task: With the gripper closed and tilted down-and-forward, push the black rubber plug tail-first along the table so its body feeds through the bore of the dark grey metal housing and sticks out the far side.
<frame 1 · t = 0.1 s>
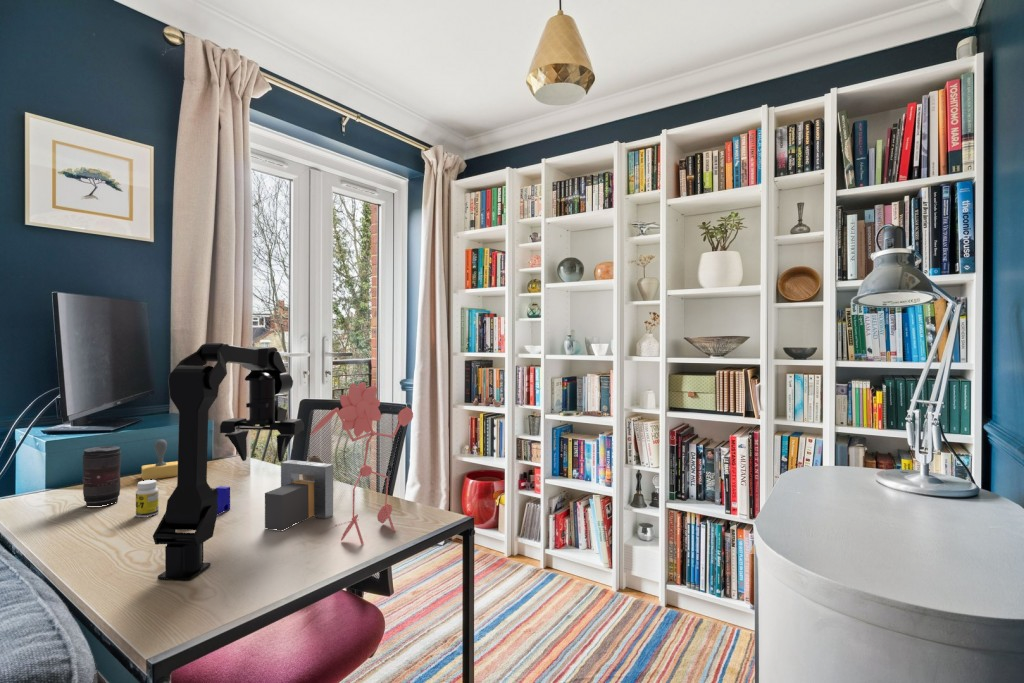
hand: (262, 460, 129), 15 cm above the table, tool pointing down, fingers open, 9 cm apart
plug: (291, 521, 128), on the table
rubber stamp: (161, 477, 168), on the table
housing: (306, 513, 134), on the table
supplement bottle: (147, 515, 132), on the table
vase: (314, 485, 159), on the table
figurine: (359, 532, 122), on the table
camera lens: (102, 504, 140), on the table
cable clip: (205, 517, 132), on the table
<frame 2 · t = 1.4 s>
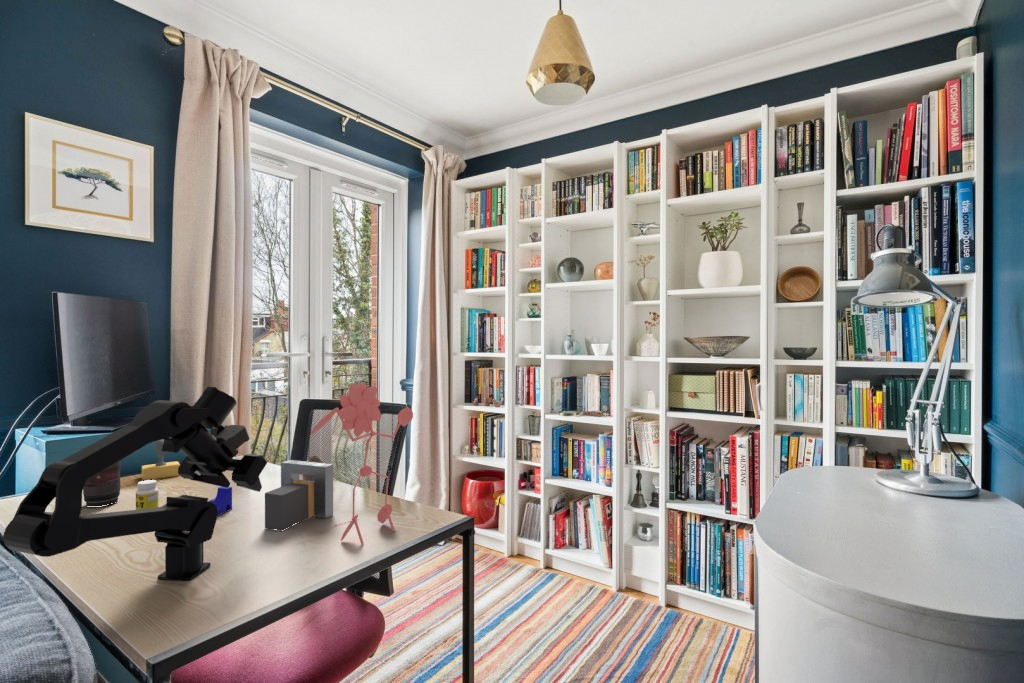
hand: (244, 487, 114), 12 cm above the table, tool tilted 45°, fingers open, 8 cm apart
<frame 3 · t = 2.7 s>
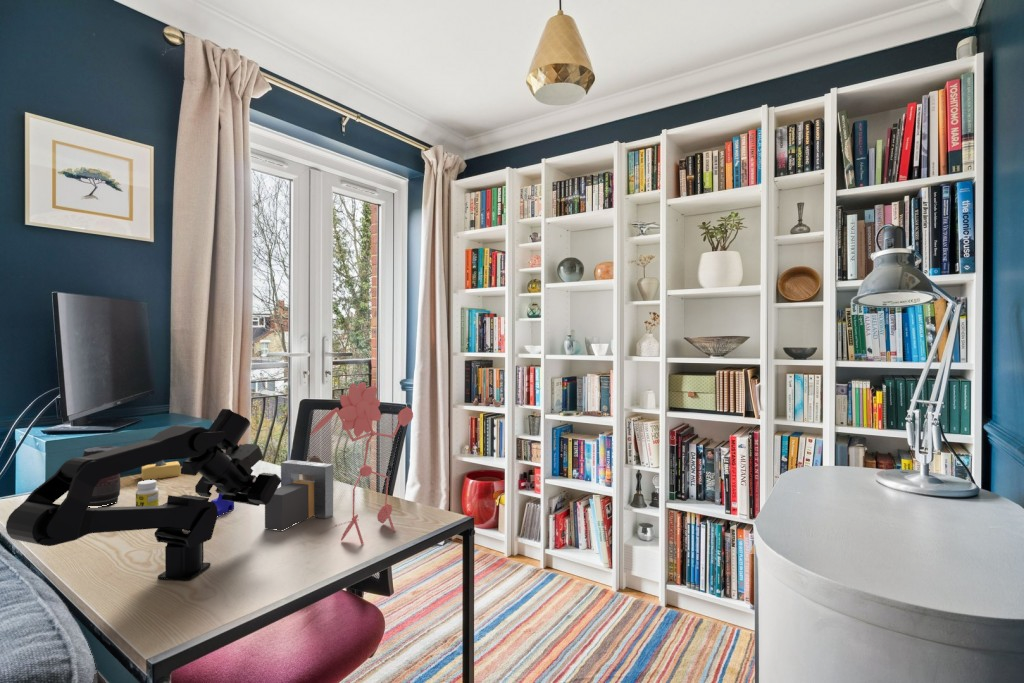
hand: (258, 503, 118), 8 cm above the table, tool tilted 45°, fingers closed
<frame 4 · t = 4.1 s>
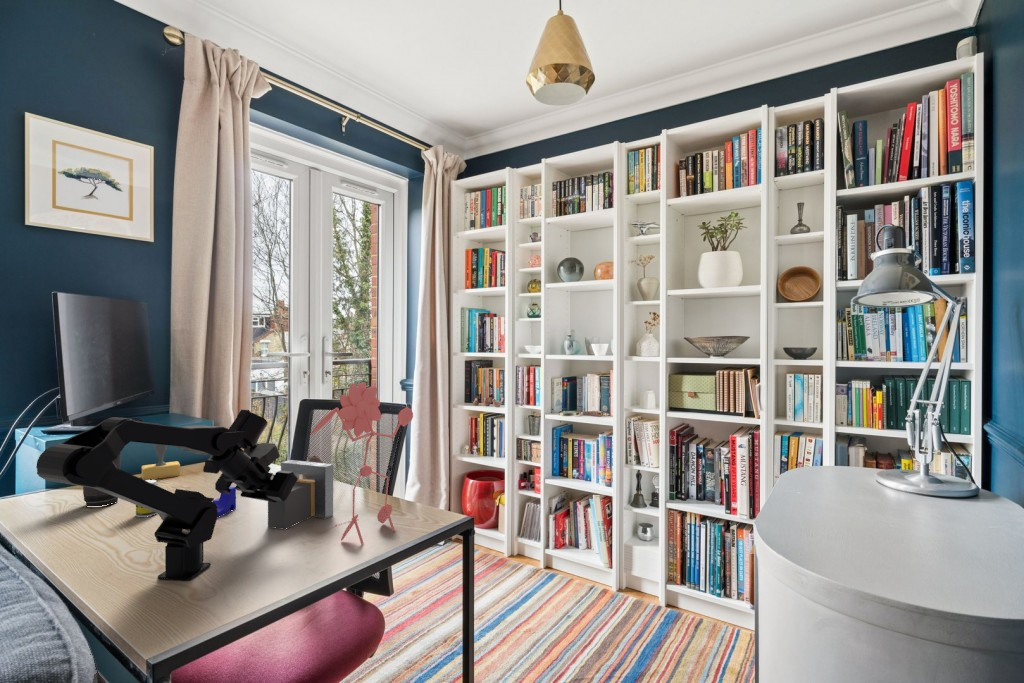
hand: (275, 500, 123), 7 cm above the table, tool tilted 45°, fingers closed, pressing on plug
plug: (294, 520, 129), on the table, touching gripper
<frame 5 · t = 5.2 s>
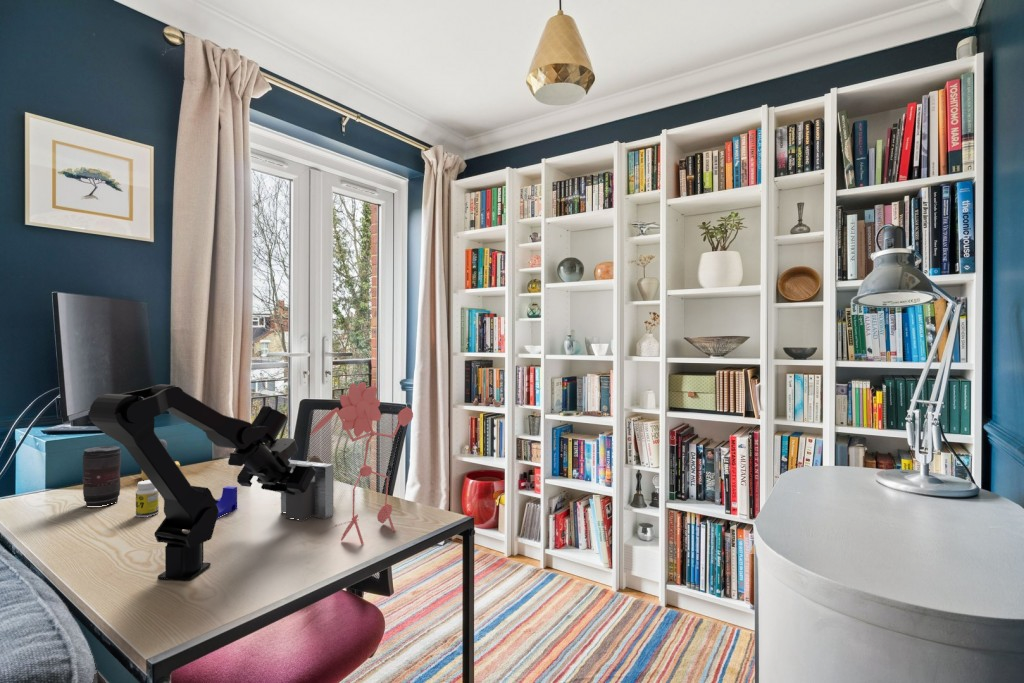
hand: (293, 493, 129), 7 cm above the table, tool tilted 45°, fingers closed, pressing on plug
plug: (310, 511, 135), on the table, touching gripper
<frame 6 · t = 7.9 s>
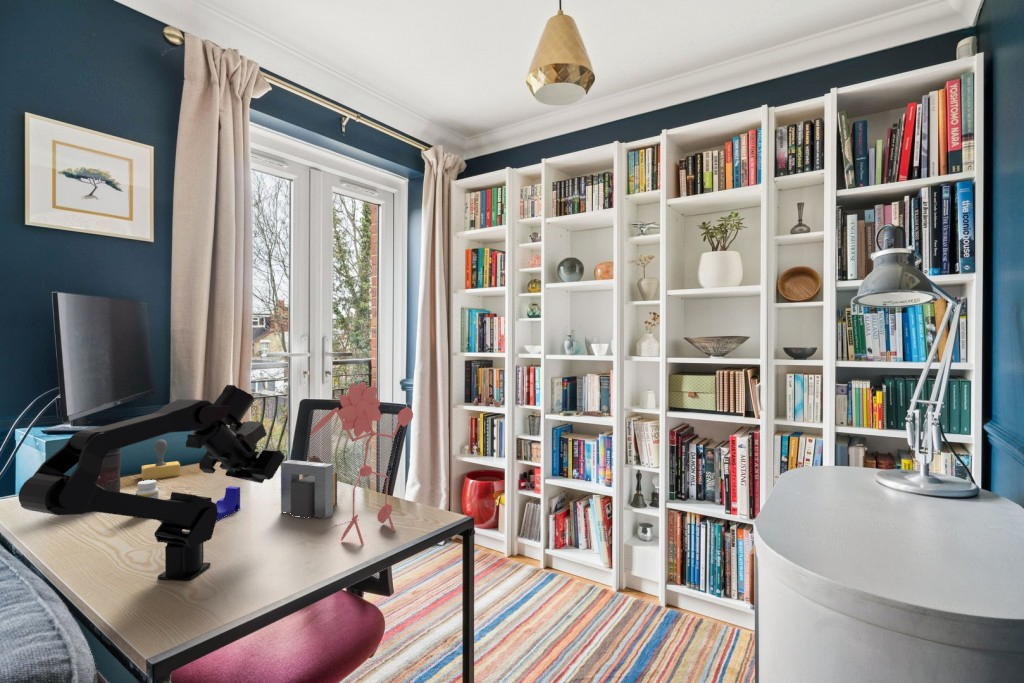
hand: (262, 481, 119), 12 cm above the table, tool tilted 45°, fingers closed
plug: (314, 510, 137), on the table
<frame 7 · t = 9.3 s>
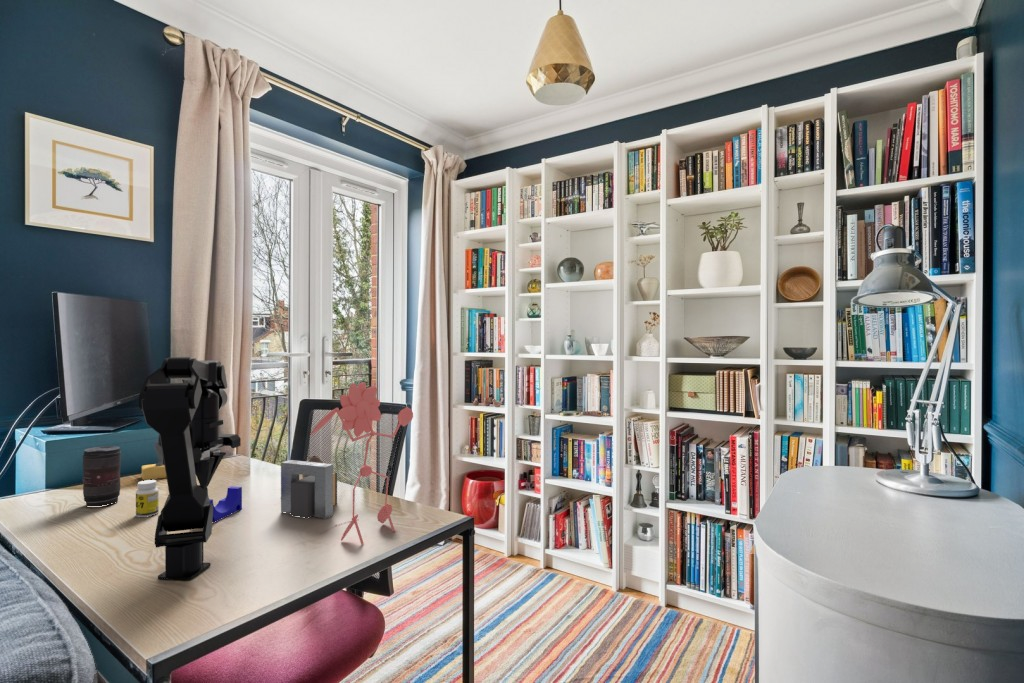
hand: (204, 487, 116), 12 cm above the table, tool pointing down, fingers closed
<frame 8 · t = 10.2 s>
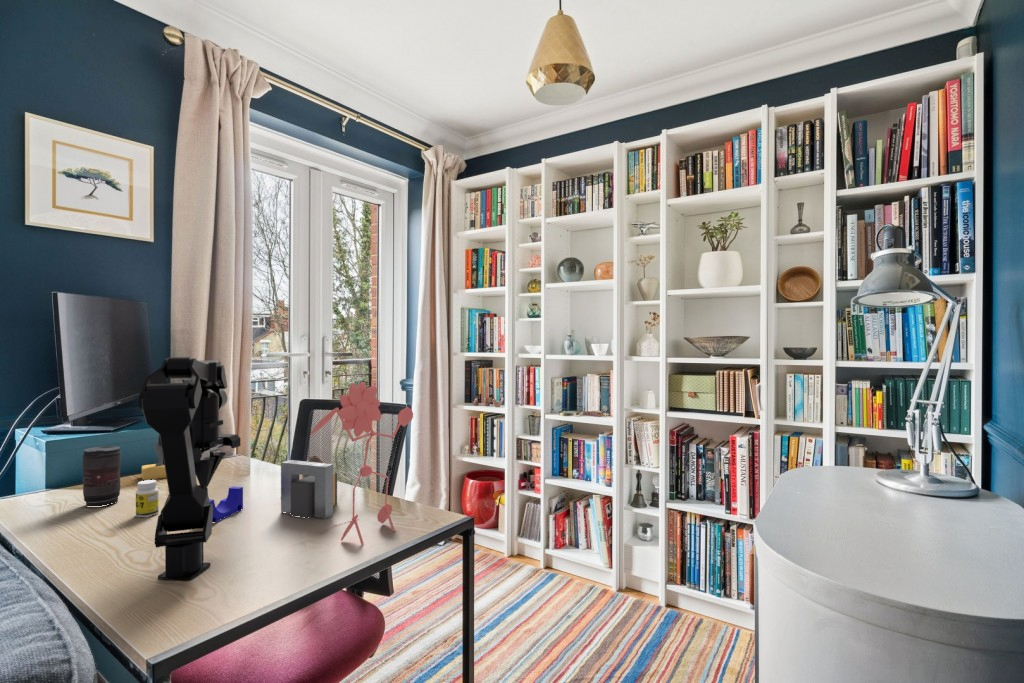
hand: (204, 487, 116), 12 cm above the table, tool pointing down, fingers closed
at the end: plug inside the target area on the table beside the housing (3.2 cm from its centre), on the table; plug tilted 0°; plug moved 8.7 cm from its start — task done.
